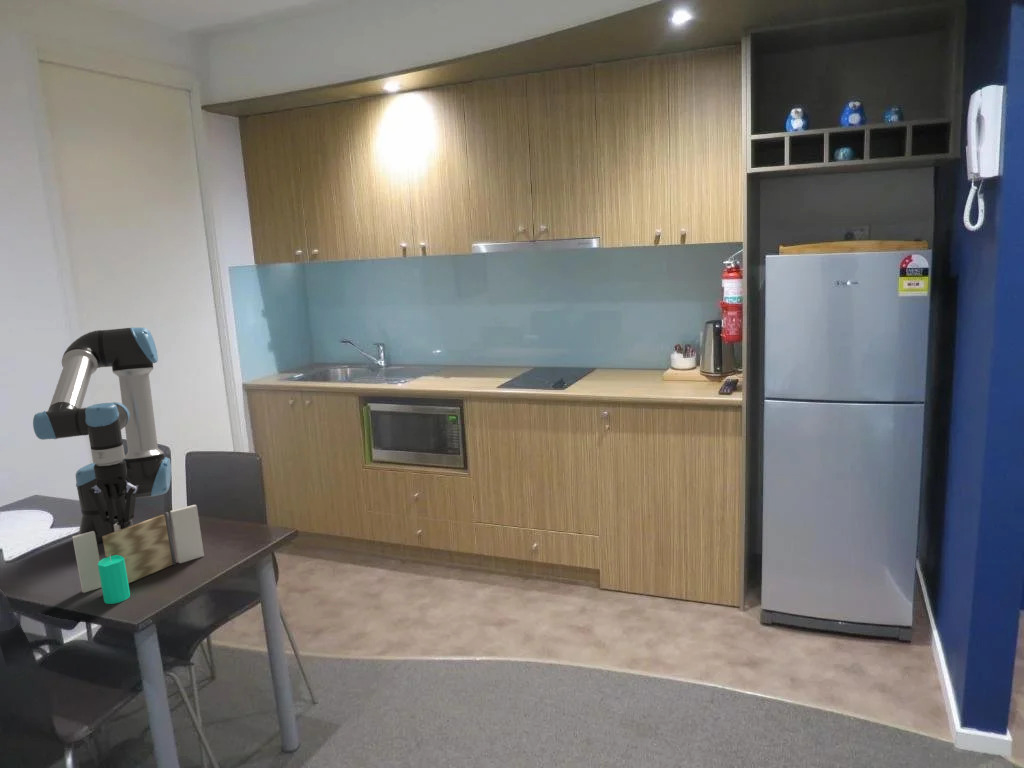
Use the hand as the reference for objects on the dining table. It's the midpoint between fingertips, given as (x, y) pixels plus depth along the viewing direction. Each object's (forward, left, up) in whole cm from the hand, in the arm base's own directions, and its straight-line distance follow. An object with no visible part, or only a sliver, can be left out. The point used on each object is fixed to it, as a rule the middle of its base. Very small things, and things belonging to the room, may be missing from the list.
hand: (122, 545), depth 197 cm
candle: (+11, -5, -10) cm, 15 cm away
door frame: (0, +5, -10) cm, 11 cm away
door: (+3, +3, -9) cm, 10 cm away
